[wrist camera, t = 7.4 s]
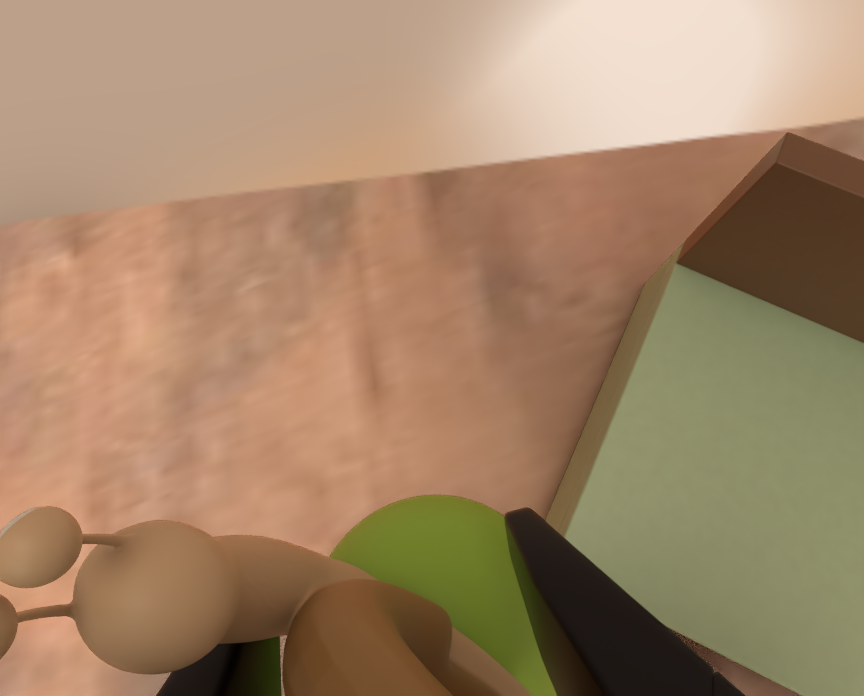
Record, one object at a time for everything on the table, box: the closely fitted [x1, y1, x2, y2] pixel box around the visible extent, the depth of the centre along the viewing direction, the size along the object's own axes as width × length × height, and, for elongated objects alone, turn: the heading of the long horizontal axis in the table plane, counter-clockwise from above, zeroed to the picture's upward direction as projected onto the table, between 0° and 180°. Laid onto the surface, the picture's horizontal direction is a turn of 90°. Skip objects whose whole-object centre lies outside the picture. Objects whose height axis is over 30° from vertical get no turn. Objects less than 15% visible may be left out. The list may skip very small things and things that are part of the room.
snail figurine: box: [0, 495, 557, 696], centre depth 9 cm, size 5×6×12 cm
